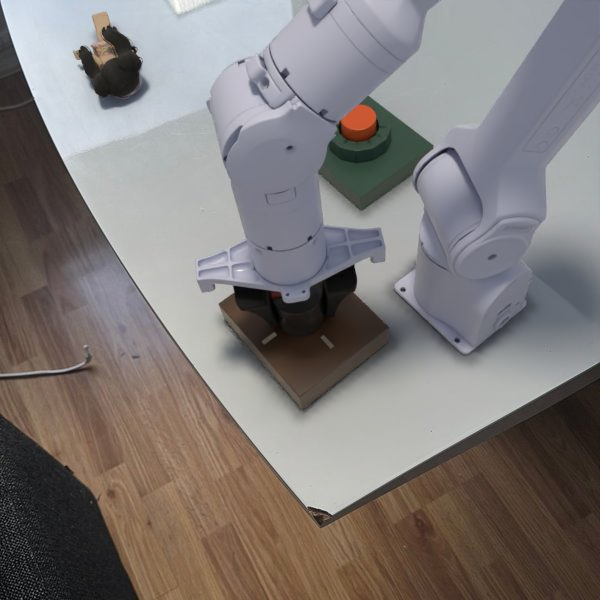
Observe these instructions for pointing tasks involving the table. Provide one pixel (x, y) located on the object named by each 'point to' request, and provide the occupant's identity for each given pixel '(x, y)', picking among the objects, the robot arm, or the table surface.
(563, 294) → the table surface
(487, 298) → the robot arm
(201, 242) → the table surface
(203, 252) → the table surface
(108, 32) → the toy figure
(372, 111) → the button
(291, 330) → the knob
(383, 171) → the button box
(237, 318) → the panel
